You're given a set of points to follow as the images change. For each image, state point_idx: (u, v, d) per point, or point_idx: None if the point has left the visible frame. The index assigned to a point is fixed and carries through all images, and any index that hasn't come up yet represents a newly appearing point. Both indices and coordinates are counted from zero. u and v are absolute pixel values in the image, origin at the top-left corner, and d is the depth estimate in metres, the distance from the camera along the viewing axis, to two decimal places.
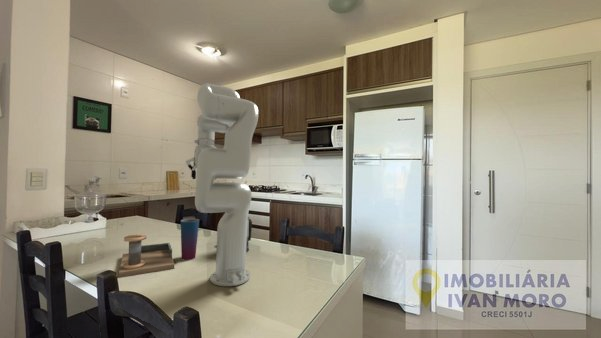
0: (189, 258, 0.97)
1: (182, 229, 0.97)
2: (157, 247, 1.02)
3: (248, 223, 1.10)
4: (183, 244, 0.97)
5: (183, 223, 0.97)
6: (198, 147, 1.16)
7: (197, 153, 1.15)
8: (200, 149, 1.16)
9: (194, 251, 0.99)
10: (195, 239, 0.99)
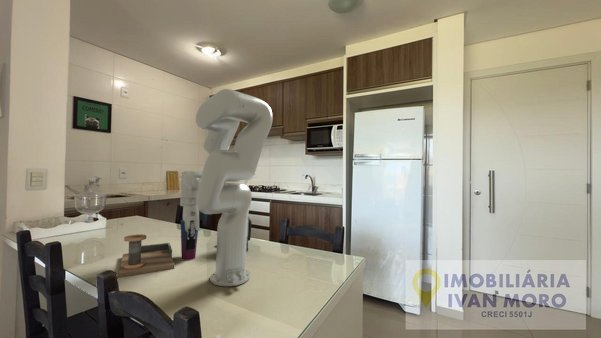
0: (189, 258, 0.97)
1: (182, 229, 0.97)
2: (157, 247, 1.02)
3: (247, 223, 1.10)
4: (183, 244, 0.97)
5: (183, 223, 0.97)
6: (198, 208, 0.98)
7: (198, 216, 0.97)
8: (198, 210, 0.99)
9: (194, 251, 0.99)
10: (195, 239, 0.99)
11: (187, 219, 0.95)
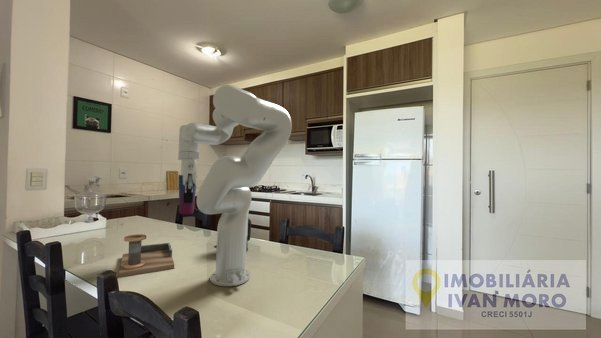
0: (187, 212, 0.97)
1: (180, 183, 0.97)
2: (157, 247, 1.02)
3: (247, 223, 1.10)
4: (181, 198, 0.97)
5: (181, 177, 0.96)
6: (196, 162, 0.97)
7: (196, 170, 0.97)
8: (196, 165, 0.98)
9: (192, 206, 0.99)
10: (193, 194, 0.99)
11: (185, 172, 0.95)
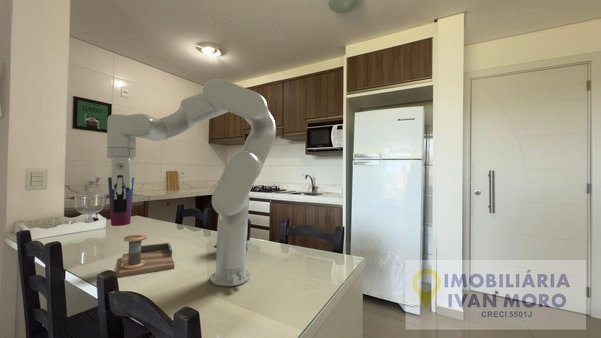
0: (120, 224, 0.78)
1: (109, 187, 0.77)
2: (157, 247, 1.02)
3: (247, 223, 1.10)
4: (111, 206, 0.77)
5: (110, 179, 0.77)
6: (129, 161, 0.78)
7: (130, 170, 0.77)
8: (131, 164, 0.79)
9: (127, 215, 0.79)
10: (128, 200, 0.79)
11: (113, 173, 0.75)
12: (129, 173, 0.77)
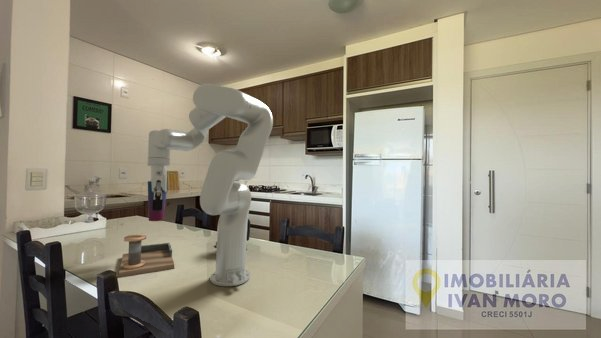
0: (156, 219, 0.95)
1: (149, 189, 0.95)
2: (157, 247, 1.02)
3: None
4: (150, 205, 0.95)
5: (150, 183, 0.94)
6: (165, 169, 0.95)
7: (166, 176, 0.95)
8: (166, 171, 0.96)
9: (162, 213, 0.97)
10: (163, 200, 0.97)
11: (153, 178, 0.93)
12: (165, 178, 0.95)
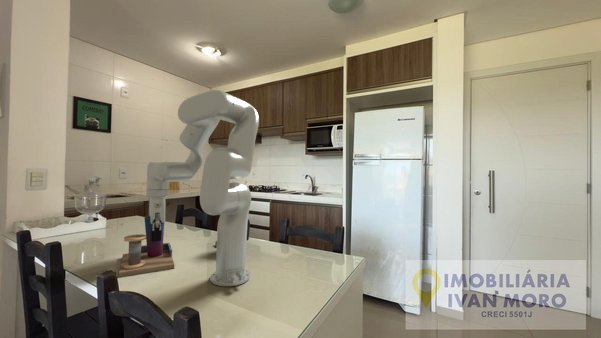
0: (155, 255, 0.95)
1: (146, 225, 0.94)
2: None
3: None
4: (148, 241, 0.94)
5: (146, 219, 0.94)
6: (164, 200, 0.95)
7: (164, 208, 0.95)
8: None
9: (160, 247, 0.96)
10: None
11: (152, 211, 0.92)
12: (164, 210, 0.95)
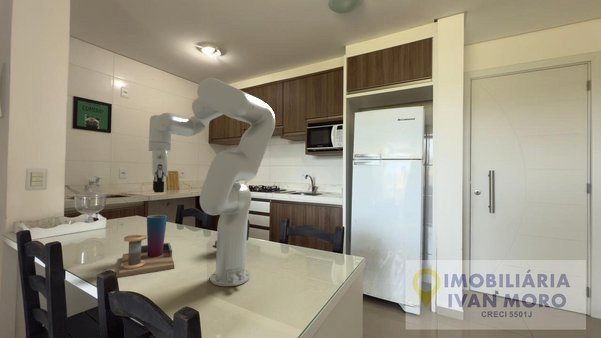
0: (155, 255, 0.95)
1: (148, 225, 0.95)
2: None
3: None
4: (149, 241, 0.95)
5: (149, 219, 0.94)
6: (167, 153, 0.96)
7: (167, 160, 0.95)
8: (167, 155, 0.96)
9: (161, 248, 0.96)
10: (162, 236, 0.96)
11: (154, 162, 0.93)
12: (166, 163, 0.95)
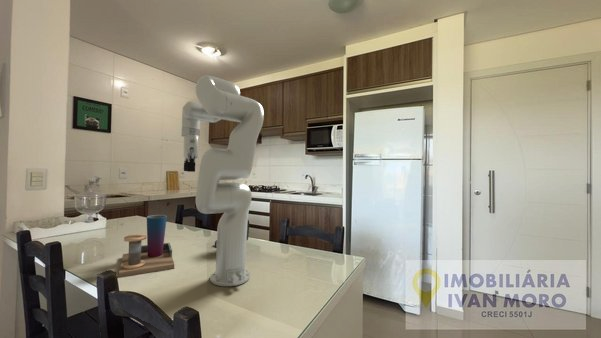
0: (155, 255, 0.95)
1: (148, 225, 0.94)
2: None
3: None
4: (149, 241, 0.94)
5: (148, 219, 0.94)
6: (197, 138, 1.10)
7: (197, 144, 1.10)
8: (197, 140, 1.11)
9: (160, 248, 0.96)
10: (162, 236, 0.96)
11: (187, 146, 1.07)
12: (197, 146, 1.10)
